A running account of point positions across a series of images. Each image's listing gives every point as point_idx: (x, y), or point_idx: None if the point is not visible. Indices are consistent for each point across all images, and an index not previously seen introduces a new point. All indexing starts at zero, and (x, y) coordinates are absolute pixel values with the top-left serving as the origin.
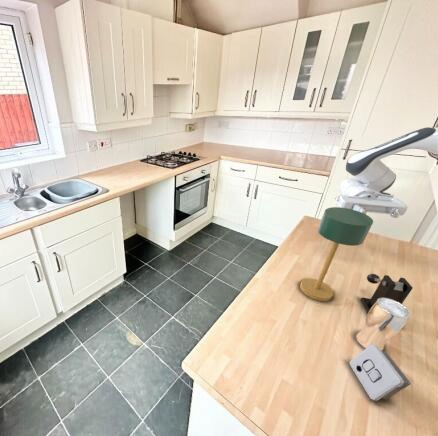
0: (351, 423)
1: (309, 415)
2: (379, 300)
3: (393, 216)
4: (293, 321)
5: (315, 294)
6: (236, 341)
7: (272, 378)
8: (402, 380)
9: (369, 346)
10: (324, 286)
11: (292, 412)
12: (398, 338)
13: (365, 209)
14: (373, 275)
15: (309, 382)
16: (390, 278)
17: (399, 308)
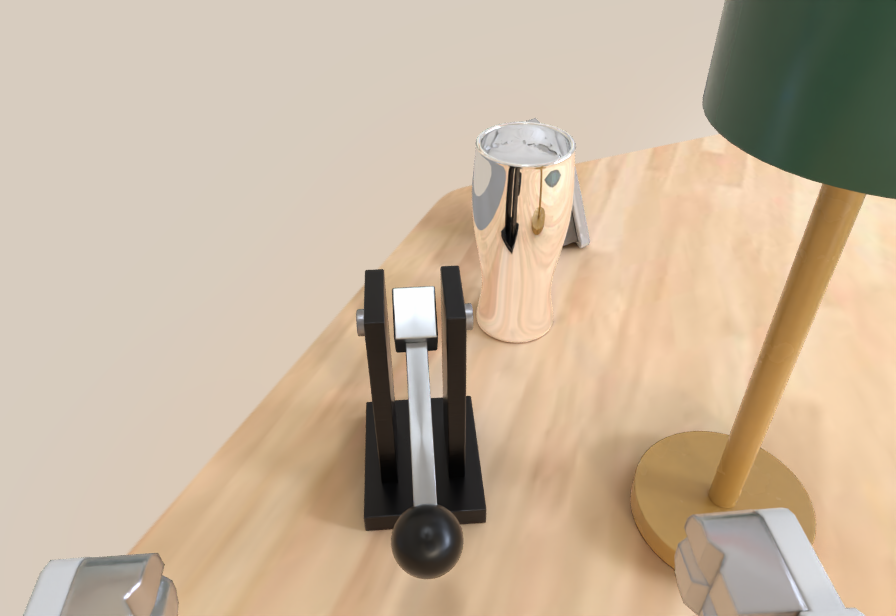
0: (597, 166)
1: (673, 158)
2: (556, 171)
3: (170, 586)
4: (765, 318)
5: (721, 443)
6: (890, 222)
7: (761, 183)
8: (529, 120)
9: (576, 172)
10: (683, 523)
11: (704, 154)
12: (402, 361)
13: (736, 559)
14: (439, 513)
15: (681, 196)
16: (446, 300)
17: (487, 176)
